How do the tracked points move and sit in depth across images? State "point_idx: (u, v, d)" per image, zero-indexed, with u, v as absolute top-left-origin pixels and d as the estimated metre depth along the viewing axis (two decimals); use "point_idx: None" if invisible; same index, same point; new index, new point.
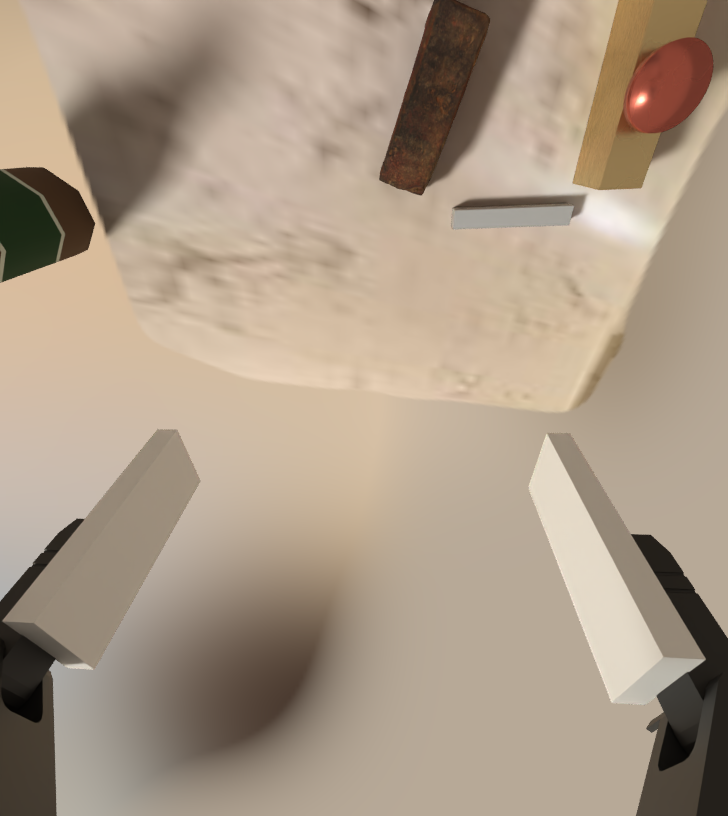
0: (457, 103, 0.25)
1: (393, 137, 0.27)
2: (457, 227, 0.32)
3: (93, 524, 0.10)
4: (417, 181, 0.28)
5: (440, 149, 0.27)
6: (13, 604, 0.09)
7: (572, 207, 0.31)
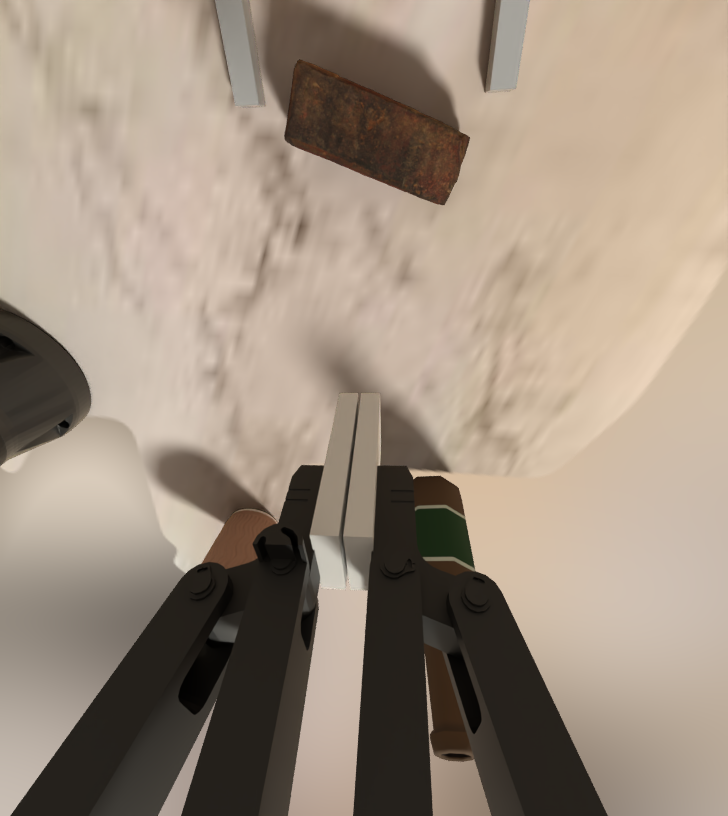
0: (374, 95, 0.20)
1: (403, 189, 0.22)
2: (514, 80, 0.21)
3: (336, 465, 0.11)
4: (453, 149, 0.21)
5: (420, 115, 0.20)
6: None
7: None
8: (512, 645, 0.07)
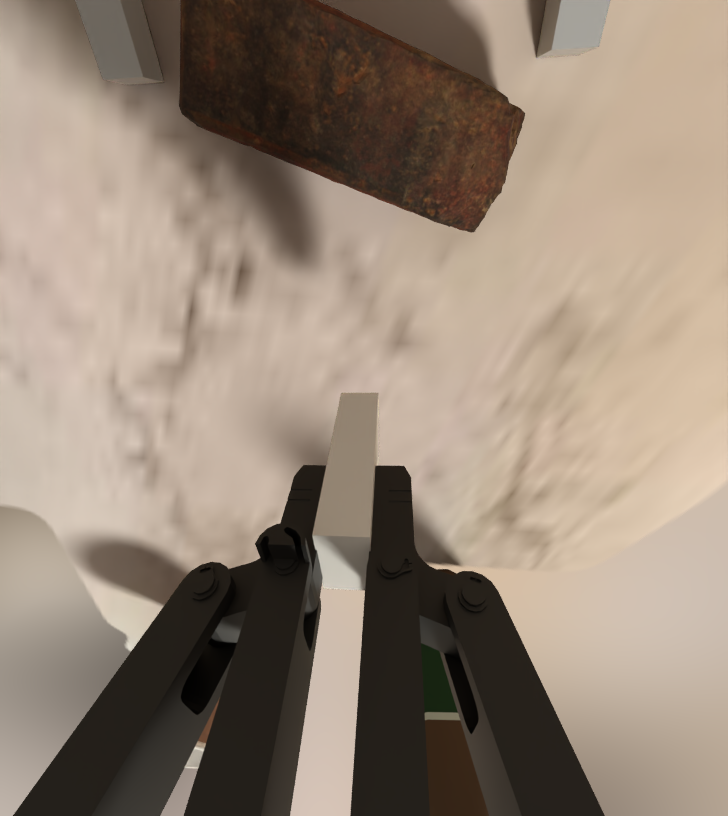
0: (347, 23, 0.10)
1: (405, 206, 0.12)
2: (598, 30, 0.12)
3: (338, 465, 0.11)
4: (499, 133, 0.11)
5: (439, 66, 0.10)
6: None
7: None
8: (509, 644, 0.07)
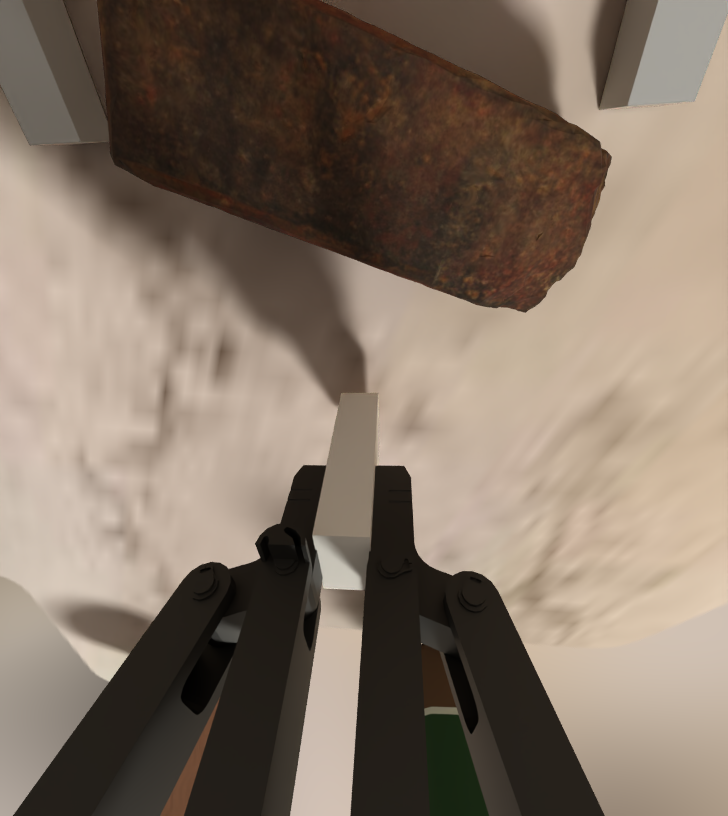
0: (357, 31, 0.06)
1: (437, 286, 0.09)
2: (695, 80, 0.08)
3: (338, 465, 0.11)
4: (583, 192, 0.07)
5: (500, 96, 0.07)
6: None
7: None
8: (509, 645, 0.07)
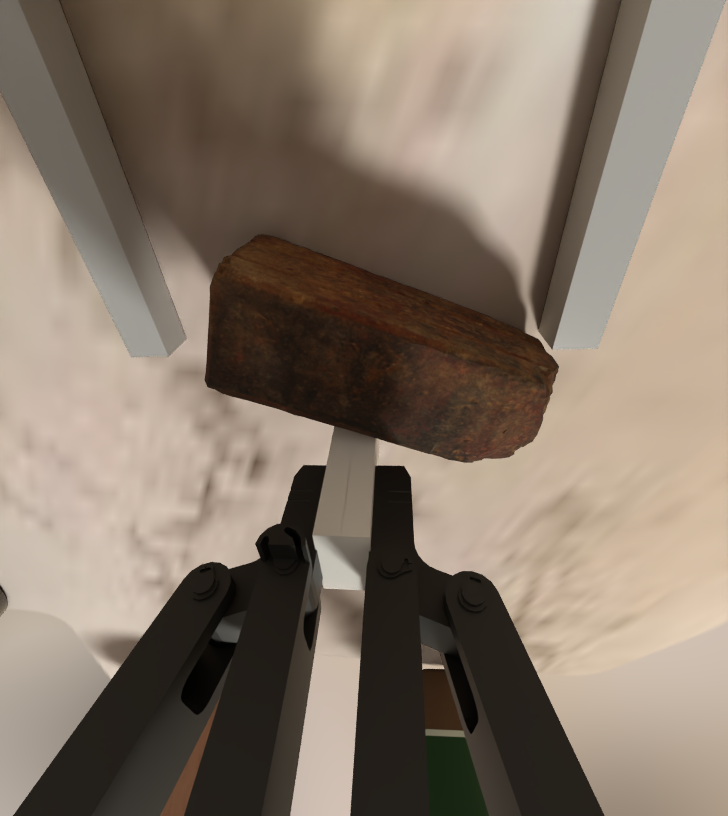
0: (380, 332, 0.09)
1: (433, 453, 0.12)
2: (596, 338, 0.12)
3: (338, 465, 0.11)
4: (534, 409, 0.11)
5: (474, 362, 0.10)
6: None
7: None
8: (508, 645, 0.07)
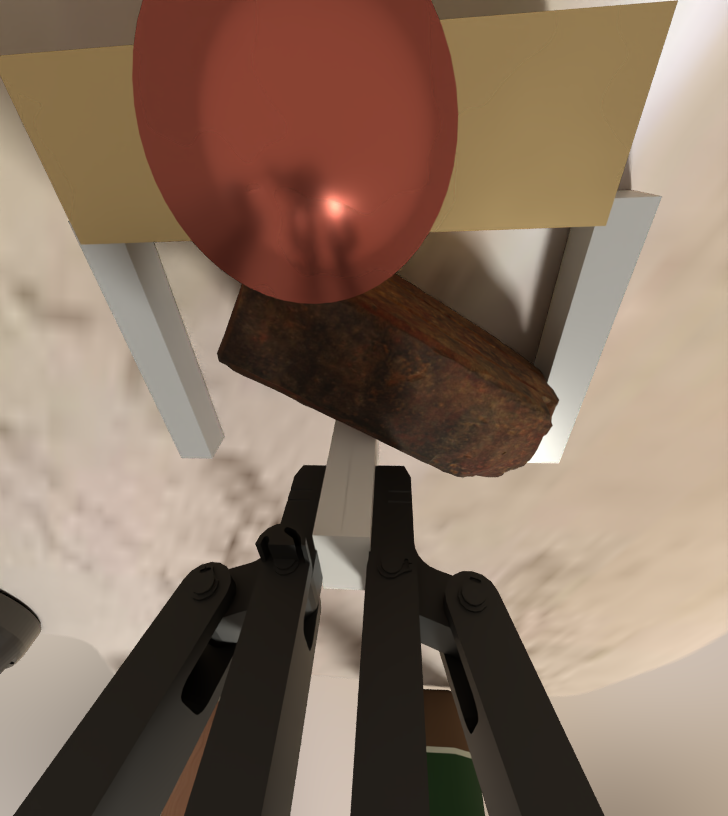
0: (413, 339, 0.09)
1: (430, 463, 0.12)
2: (557, 456, 0.15)
3: (338, 465, 0.11)
4: (535, 437, 0.11)
5: (494, 384, 0.10)
6: None
7: None
8: (509, 645, 0.07)
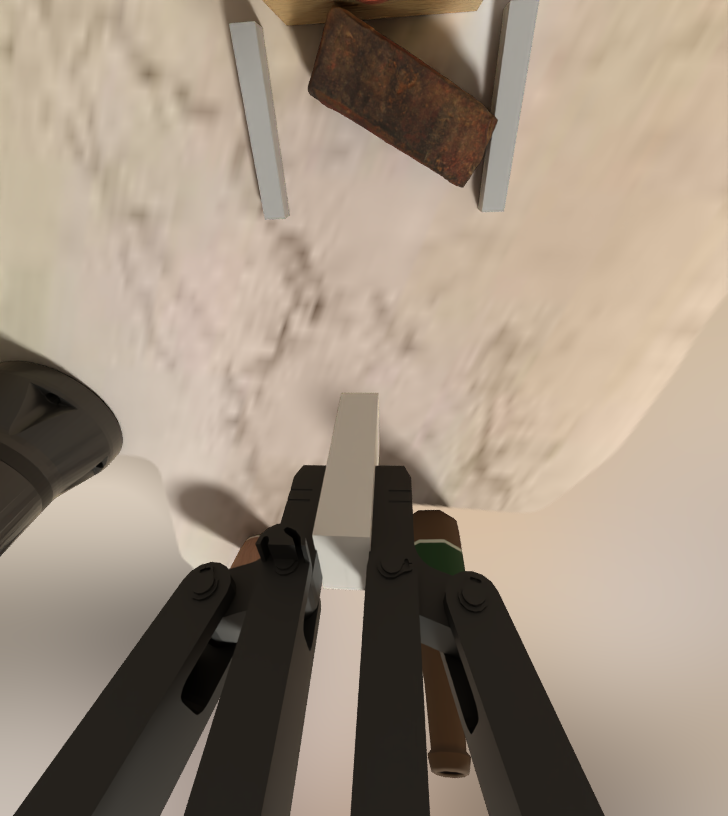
0: (408, 57, 0.19)
1: (425, 163, 0.22)
2: (502, 205, 0.25)
3: (338, 465, 0.11)
4: (481, 128, 0.20)
5: (453, 86, 0.19)
6: None
7: (512, 3, 0.19)
8: (509, 645, 0.07)
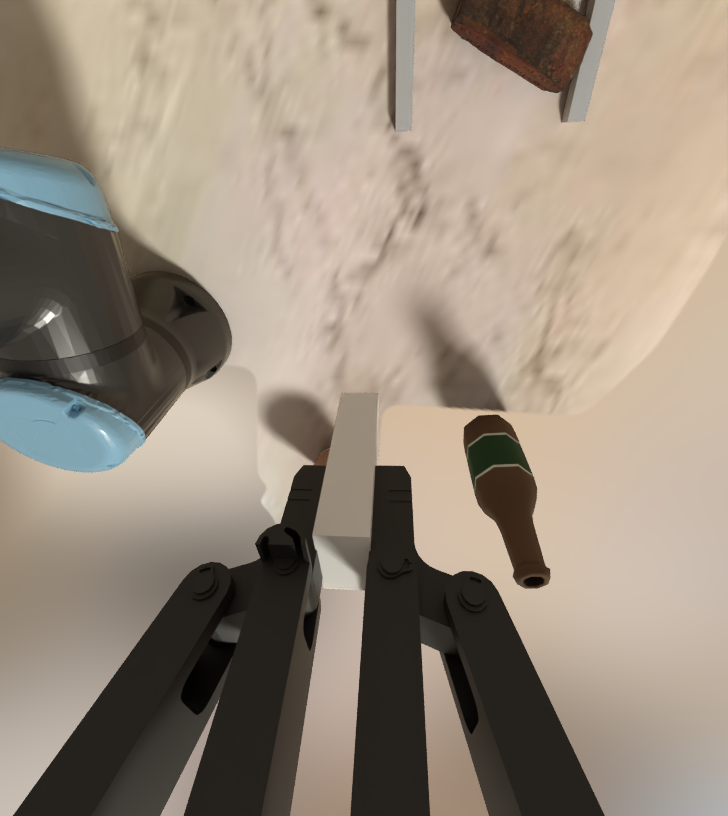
0: None
1: (538, 69, 0.29)
2: (584, 115, 0.32)
3: (338, 465, 0.11)
4: (584, 37, 0.28)
5: (566, 5, 0.27)
6: None
7: None
8: (509, 644, 0.07)
